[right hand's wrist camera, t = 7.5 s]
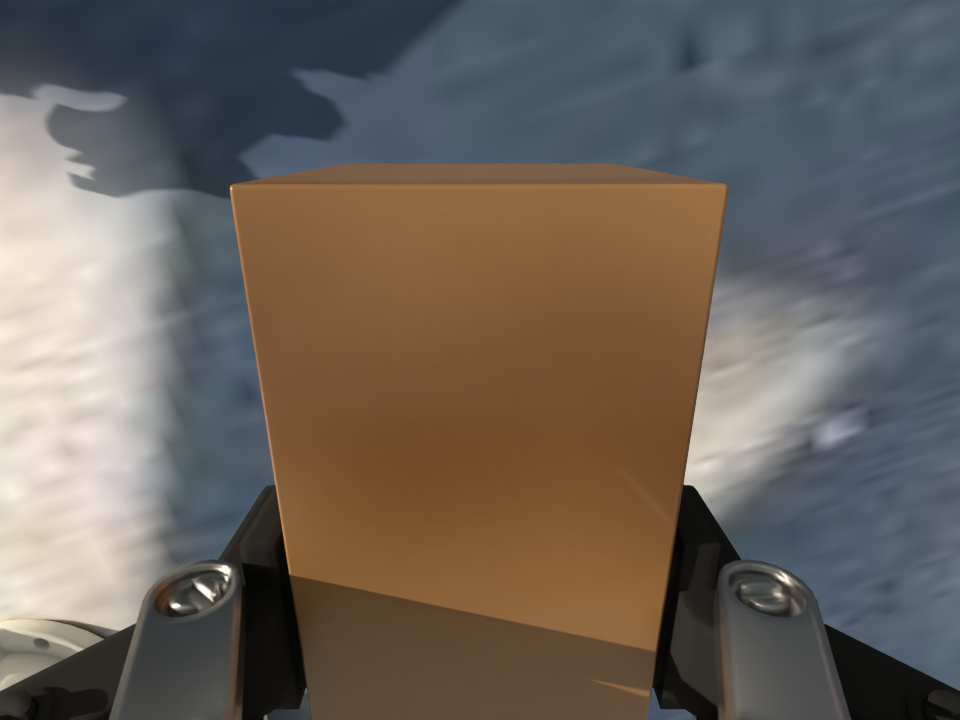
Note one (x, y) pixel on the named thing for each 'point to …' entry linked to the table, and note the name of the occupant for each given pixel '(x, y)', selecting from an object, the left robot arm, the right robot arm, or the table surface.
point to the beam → (479, 425)
